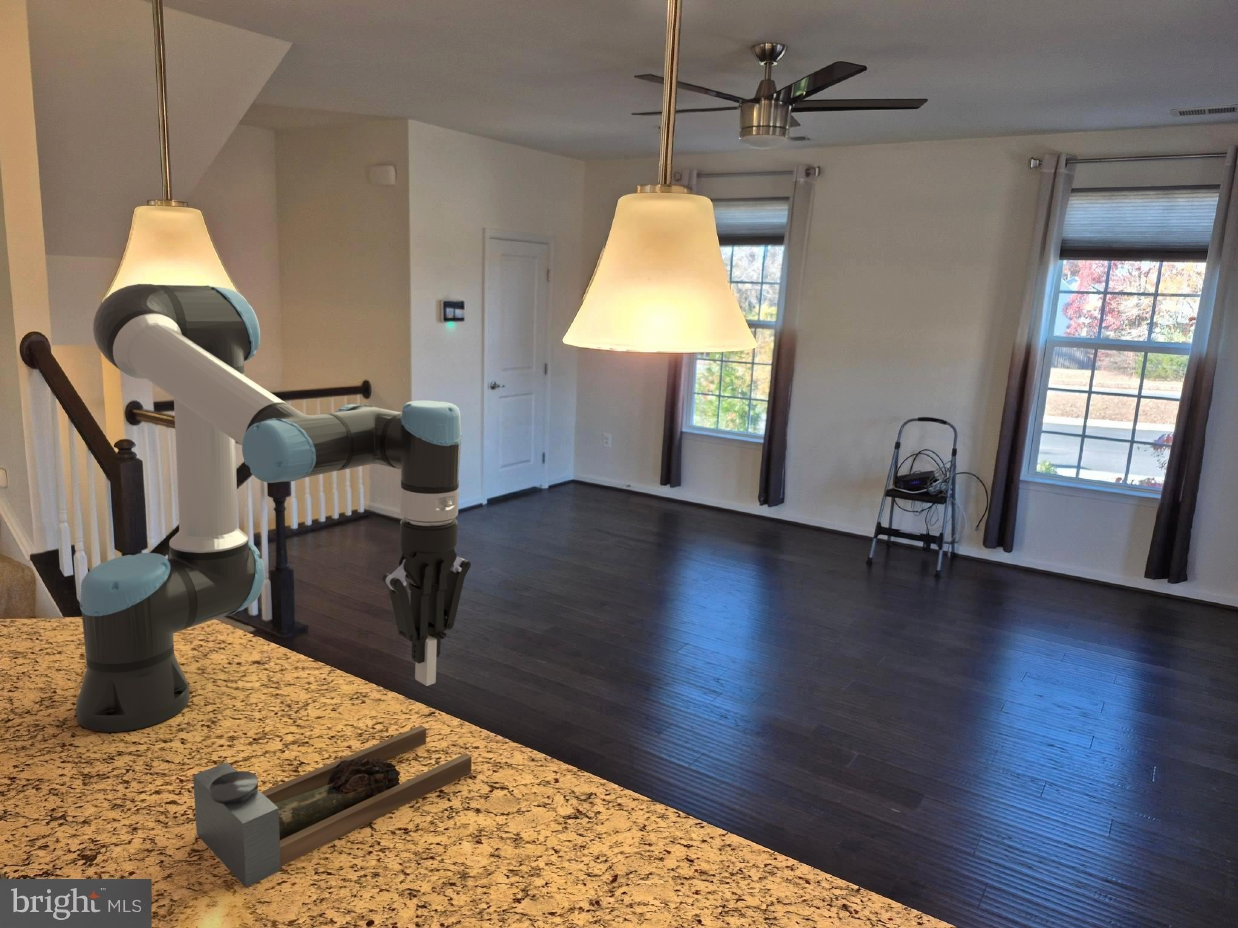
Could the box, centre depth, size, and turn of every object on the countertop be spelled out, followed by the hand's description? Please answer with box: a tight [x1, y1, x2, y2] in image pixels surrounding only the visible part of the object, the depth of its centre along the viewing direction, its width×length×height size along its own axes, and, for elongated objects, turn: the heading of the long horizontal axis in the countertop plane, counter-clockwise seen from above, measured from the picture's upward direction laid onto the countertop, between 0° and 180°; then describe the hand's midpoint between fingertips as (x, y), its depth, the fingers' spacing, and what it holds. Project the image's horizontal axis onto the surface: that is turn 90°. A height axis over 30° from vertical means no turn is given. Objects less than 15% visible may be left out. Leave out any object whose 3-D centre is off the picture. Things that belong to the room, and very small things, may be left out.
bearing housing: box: [192, 761, 282, 889], centre depth 97 cm, size 13×5×9 cm, turn 49°
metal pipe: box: [275, 758, 401, 840], centre depth 105 cm, size 18×7×6 cm, turn 131°
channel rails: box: [260, 724, 473, 867], centre depth 109 cm, size 12×28×2 cm, turn 139°
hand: (425, 680), depth 115 cm, fingers closed
